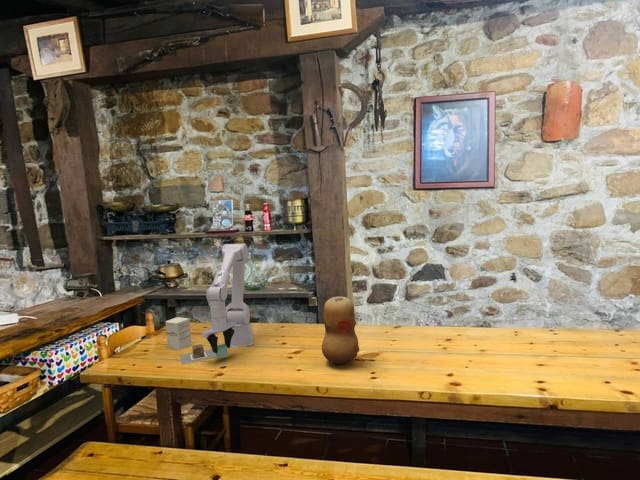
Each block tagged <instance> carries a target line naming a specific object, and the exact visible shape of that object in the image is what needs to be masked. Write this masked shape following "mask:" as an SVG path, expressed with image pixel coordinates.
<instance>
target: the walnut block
mask: <svg viewBox="0 0 640 480" xmlns="http://www.w3.org/2000/svg"><path fill="white" fill-rule="evenodd" d="M191 347H192V349H191V350H192V352H193V357H194V359H195V358H200V357H204V350H205V349H204V346H203V344H202V343H201V344H195V345H191Z"/></svg>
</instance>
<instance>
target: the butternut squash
mask: <svg viewBox="0 0 640 480" xmlns="http://www.w3.org/2000/svg"><path fill="white" fill-rule="evenodd" d="M355 315H356V314H355V305H354V302H353V301H352V300H351V299H350V298H349V297H347V296H333V297H330V298H329V299H328V300H326V301H325V303H324V306H323V318H322V319H323V325H324V332H325V333H324V337H323V339H322V344H321V353H322V355H323V357H324V358H325V359H326V360H327V361H328V362H330V363H334V364H338V365H346V364H348V363H350V362H351V361H353V360H354V359H355V358H356V357H357V356H358V353H359V351H360V347H359V346H360V345H359V339H358V336H357V334H356V330H355V328H356V326H357V325H356V324H357V321H356V316H355Z"/></svg>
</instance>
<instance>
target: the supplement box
mask: <svg viewBox="0 0 640 480" xmlns="http://www.w3.org/2000/svg"><path fill="white" fill-rule="evenodd" d="M190 321H191V319H190V318H187V317H179V316H176V317H174V318H171V319H168V320H166V321H165V329H166V331H165V332H166V343H167V349H171V350H175V351H181V350H184V349H186V348H188V347H190V346H193V345H192V333H191V323H190Z"/></svg>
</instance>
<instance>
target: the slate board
mask: <svg viewBox="0 0 640 480" xmlns="http://www.w3.org/2000/svg"><path fill="white" fill-rule="evenodd" d="M179 358H180V363H181V365H186V364H190V363H196V362H202V361H206V360H207V361H208V360H211V359H218V358H217V356H216V353H214V352H213V350H212V348H209V349H204V357H200V358H195V359H194V357H193V351H192V352H189V353H182V354H179Z"/></svg>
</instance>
